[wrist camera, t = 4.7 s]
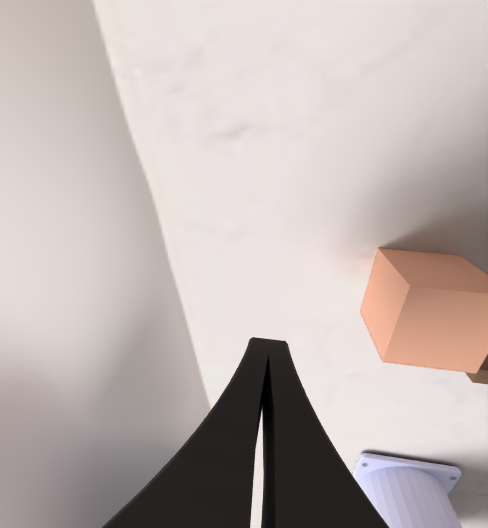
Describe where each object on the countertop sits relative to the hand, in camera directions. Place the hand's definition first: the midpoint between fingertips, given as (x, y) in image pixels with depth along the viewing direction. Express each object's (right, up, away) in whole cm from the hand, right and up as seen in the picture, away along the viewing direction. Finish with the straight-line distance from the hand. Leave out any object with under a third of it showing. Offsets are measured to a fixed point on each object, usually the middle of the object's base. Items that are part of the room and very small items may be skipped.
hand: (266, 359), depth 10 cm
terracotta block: (+9, +2, +6) cm, 11 cm away
